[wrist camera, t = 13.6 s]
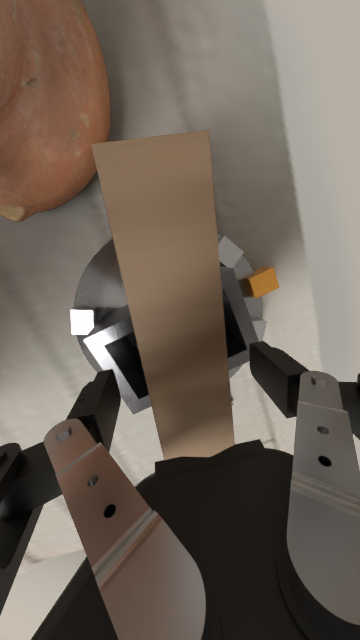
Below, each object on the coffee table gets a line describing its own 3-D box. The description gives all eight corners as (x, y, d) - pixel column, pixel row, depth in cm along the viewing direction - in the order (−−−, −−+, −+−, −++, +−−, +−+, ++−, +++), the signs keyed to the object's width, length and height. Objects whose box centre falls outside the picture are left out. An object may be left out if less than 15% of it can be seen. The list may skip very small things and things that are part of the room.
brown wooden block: (91, 143, 5) (179, 524, 10) (208, 130, 5) (240, 509, 10) (126, 205, 12) (169, 415, 17) (178, 198, 12) (206, 408, 17)
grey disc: (135, 415, 25) (127, 476, 18) (40, 275, 19) (-24, 287, 12) (284, 346, 24) (335, 382, 17) (234, 181, 18) (280, 139, 12)
